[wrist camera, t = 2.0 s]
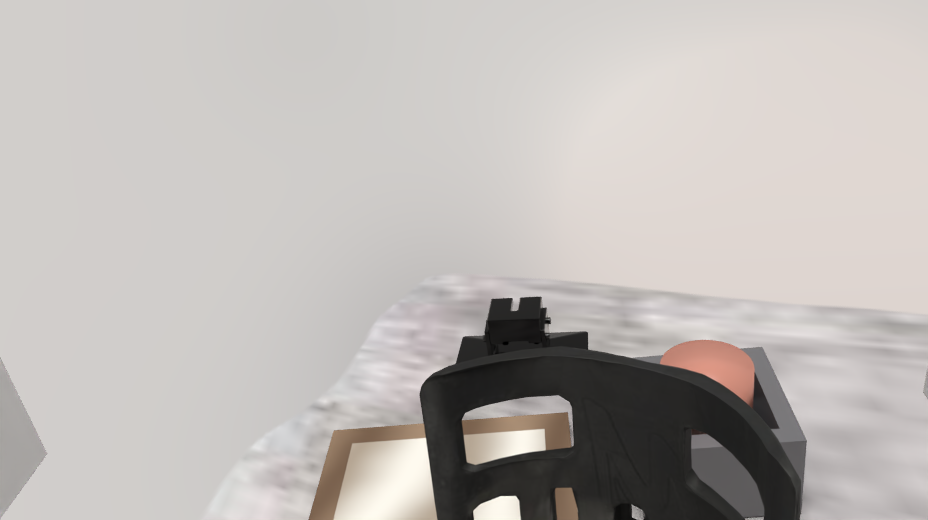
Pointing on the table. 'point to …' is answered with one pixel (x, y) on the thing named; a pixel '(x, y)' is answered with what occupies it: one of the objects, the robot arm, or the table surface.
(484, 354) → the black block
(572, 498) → the board
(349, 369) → the table surface
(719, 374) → the button
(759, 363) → the button housing
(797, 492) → the holder
